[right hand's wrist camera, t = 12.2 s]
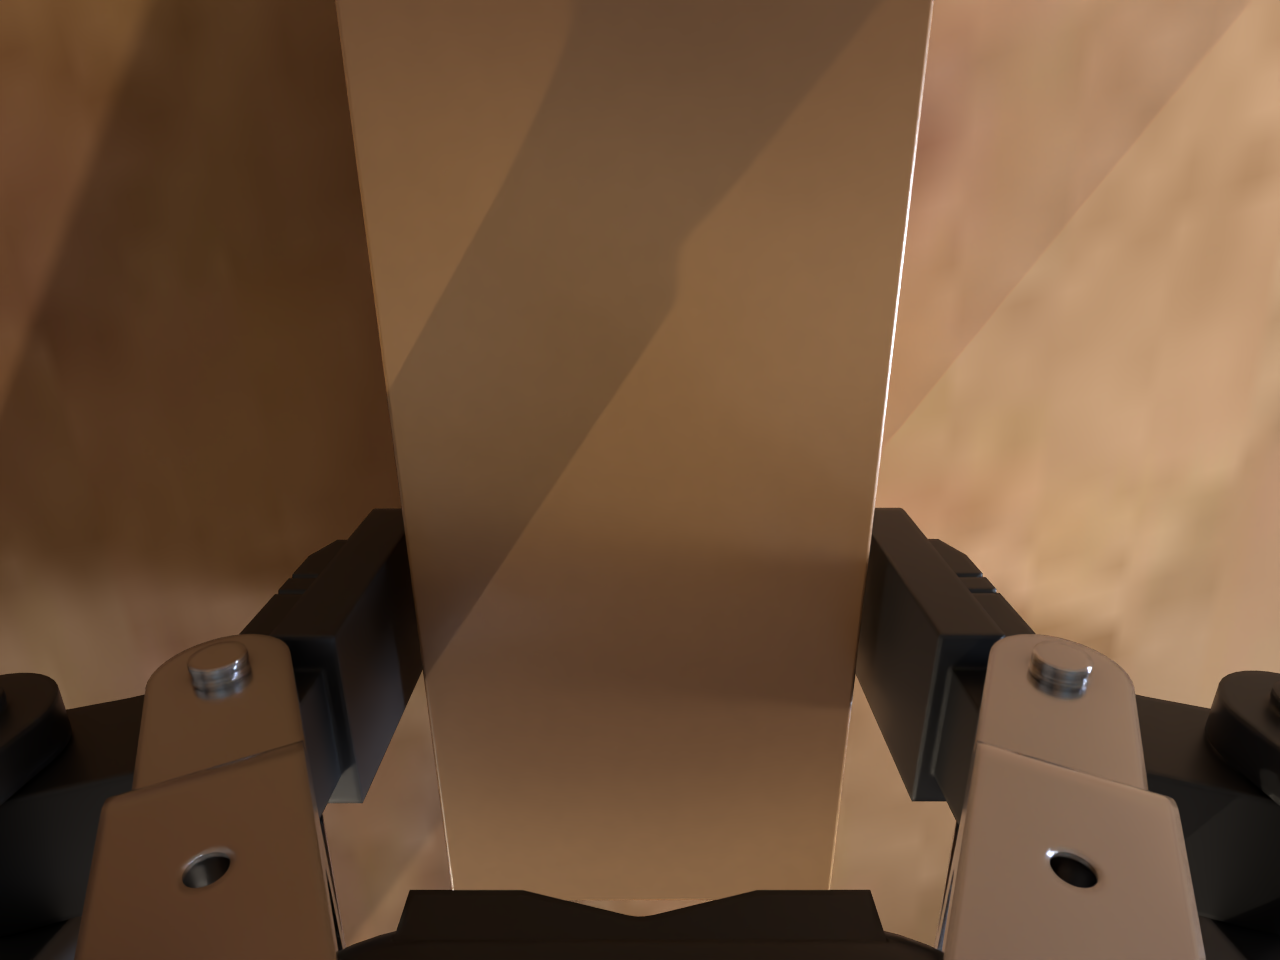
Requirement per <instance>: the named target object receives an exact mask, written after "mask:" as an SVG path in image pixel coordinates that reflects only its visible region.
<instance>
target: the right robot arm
mask: <svg viewBox="0 0 1280 960" xmlns="http://www.w3.org/2000/svg"><path fill="white" fill-rule="evenodd" d="M422 670H423V667H422V659H421V651H420V644H419V636H418V629H417V621H416V613H415V606H414V598H413V591H412V583H411V575H410V568H409V560H408V553H407V545H406V537H405V530H404V522H403V515H402V509H373V510H372V511H371V512H370V513H369V515H368V516H367V517H366V518H365V520H364V521H363V522H362V523H361V524H360V526H359V527H358V528H357V529H356V530H355V532H354V533H353V534H352V535H351V536H350V538H349V539H348V540H336V541H335V542H333V543H331V544H329V545H328V546H326V547H324V548H322V549H321V550H319V551H317V552H315V553H313V554H312V555H310V556H309V557H308V558H307V559H306V560H305V561H304V562H303V563H302V565H301V566H300V567H299V568H298V569H297V570H296V571H295V572H294V573H293V577H292V578H289V579H288V580H287V581H286V582H285V584H284V585H283V586H282V587H281V588H280V589H279V593H278V594H275V595H274V596H273V597H272V598H271V599H270V600H269V601H268V603H267V604H266V605H265V606H264V607H263V608H262V609H261V610H260V612H259V613H258V614H257V615H256V616H255V617H254V618H253V619H252V621H251V622H250V623H249V624H248V625H247V626H246V627H245V628H244V629H243V631H242V632H241V633H240V634H239V635H232V636H227V637H222V638H218V639H214V640H210V641H207V642H204V643H201V644H198V645H196V646H193V647H191V648H189V649H186V650H184V651H183V652H181V653H179V654H177V655H175V656H174V657H172V658H171V659H169V660H167V661H166V662H165V663H164V664H162V665H161V666H160V667H159V668H158V669H157V670H156V671H155V672H154V673H153V674H152V675H151V677H150V679H149V680H148V682H147V685H146V690H145V695H141V696H136V697H132V698H127V699H122V700H116V701H111V702H106V703H100V704H95V705H90V706H84V707H79V708H74V709H68V710H66V709H65V706H64V703H63V700H62V697H61V694H60V691H59V688H58V685H57V684H56V682H55V681H54V680H53V679H51V678H50V677H48V676H45V675H42V674H35V673H13V674H5V675H0V960H1280V674H1279V673H1273V672H1265V671H1241V672H1235V673H1232V674H1229V675H1227V676H1225V677H1224V678H1222V680H1221V681H1220V683H1219V686H1218V689H1217V692H1216V695H1215V698H1214V701H1213V704H1212V707H1211V709H1209V708H1203V707H1198V706H1193V705H1187V704H1182V703H1177V702H1171V701H1166V700H1160V699H1155V698H1150V697H1144V696H1140V695H1135V690H1134V685H1133V682H1132V680H1131V679H1130V677H1129V675H1128V674H1127V673H1126V672H1125V671H1124V670H1123V669H1122V668H1121V667H1120V666H1119V665H1118V664H1116V663H1115V662H1114V661H1113V660H1111V659H1109V658H1108V657H1106V656H1105V655H1103V654H1101V653H1099V652H1097V651H1096V650H1094V649H1091V648H1089V647H1087V646H1084V645H1082V644H1079V643H1076V642H1073V641H1070V640H1066V639H1062V638H1058V637H1053V636H1048V635H1039V634H1035V633H1034V631H1033V630H1032V629H1031V628H1030V627H1029V626H1028V625H1027V623H1026V622H1025V621H1024V620H1023V619H1022V618H1021V617H1020V616H1019V614H1018V613H1017V612H1016V611H1015V610H1014V609H1013V608H1012V606H1011V605H1010V604H1009V603H1008V602H1007V601H1006V600H1005V599H1004V597H1003V596H1002V595H1001V594H1000V593H996V588H995V587H994V586H993V585H992V584H991V583H990V582H989V580H988V579H987V578H986V577H983V576H982V572H981V571H980V570H979V569H978V568H977V567H976V566H975V565H974V563H973V562H972V561H971V560H970V559H969V558H968V557H967V555H965V554H963V553H962V552H960V551H958V550H956V549H955V548H953V547H951V546H949V545H948V544H946V543H944V542H942V541H941V540H939V539H927V538H926V537H925V535H924V534H923V533H922V532H921V530H920V529H919V528H918V527H917V525H916V524H915V523H914V522H913V521H912V519H911V518H910V517H909V516H908V514H907V513H906V512H905V511H904V510H903V509H902V508H875V510H874V518H873V527H872V535H871V544H870V552H869V561H868V570H867V578H866V587H865V595H864V604H863V612H862V621H861V629H860V638H859V647H858V655H857V664H856V672H855V673H856V676H857V678H858V680H859V682H860V685H861V687H862V689H863V692H864V694H865V696H866V698H867V701H868V703H869V705H870V707H871V710H872V712H873V714H874V716H875V719H876V721H877V723H878V726H879V728H880V730H881V732H882V735H883V737H884V739H885V741H886V744H887V746H888V748H889V750H890V753H891V755H892V757H893V759H894V762H895V764H896V766H897V769H898V771H899V773H900V775H901V778H902V780H903V782H904V784H905V787H906V789H907V791H908V793H909V796H910V798H911V800H912V801H947V803H948V805H949V807H950V809H951V811H952V813H953V815H954V817H955V819H956V824H955V829H954V834H953V839H952V845H951V851H950V857H949V863H948V869H947V874H946V880H945V886H944V892H943V898H942V903H941V909H940V915H939V921H938V927H937V933H936V938H935V944H934V948H933V947H931V946H929V945H926V944H924V943H921V942H918V941H915V940H912V939H909V938H906V937H904V936H901V935H897V934H893V933H890V932H886V931H883V928H882V925H881V922H880V919H879V915H878V912H877V909H876V906H875V903H874V900H873V897H872V894H871V891H870V890H755V891H751V892H747V893H743V894H739V895H734V896H730V897H726V898H722V899H718V900H714V901H710V902H706V903H701V904H697V905H693V906H689V907H685V908H681V909H677V910H673V911H668V912H664V913H660V914H656V915H651V916H645V917H635V916H629V915H624V914H620V913H616V912H612V911H607V910H603V909H599V908H595V907H591V906H587V905H583V904H579V903H574V902H570V901H566V900H562V899H558V898H554V897H550V896H546V895H541V894H537V893H533V892H529V891H525V890H410V891H409V894H408V897H407V900H406V903H405V906H404V909H403V912H402V915H401V919H400V922H399V925H398V928H397V931H394V932H390V933H387V934H383V935H379V936H376V937H374V938H371V939H368V940H365V941H362V942H359V943H356V944H354V945H351V946H349V947H347V948H346V944H345V938H344V933H343V927H342V921H341V915H340V909H339V903H338V898H337V892H336V886H335V880H334V874H333V869H332V863H331V857H330V851H329V845H328V839H327V834H326V829H325V824H324V819H323V814H322V813H323V811H324V809H325V807H326V805H327V803H363V801H364V799H365V797H366V794H367V792H368V790H369V788H370V785H371V783H372V781H373V779H374V776H375V774H376V772H377V770H378V768H379V765H380V763H381V761H382V759H383V756H384V754H385V752H386V750H387V748H388V745H389V743H390V741H391V739H392V736H393V734H394V732H395V730H396V727H397V725H398V723H399V721H400V719H401V716H402V714H403V712H404V710H405V707H406V705H407V703H408V701H409V699H410V696H411V694H412V692H413V690H414V687H415V685H416V683H417V681H418V679H419V676H420V674H421V672H422Z"/></svg>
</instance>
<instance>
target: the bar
mask: <svg viewBox="0 0 1280 960" xmlns="http://www.w3.org/2000/svg"><path fill="white" fill-rule="evenodd" d="M335 5H336V13H337V20H338V28H339V36H340V43H341V51H342V58H343V66H344V74H345V81H346V89H347V96H348V104H349V112H350V119H351V127H352V134H353V142H354V150H355V157H356V165H357V172H358V180H359V188H360V195H361V203H362V210H363V218H364V226H365V233H366V241H367V248H368V256H369V264H370V271H371V279H372V286H373V294H374V302H375V309H376V317H377V325H378V332H379V340H380V347H381V355H382V363H383V370H384V378H385V385H386V393H387V401H388V408H389V416H390V423H391V431H392V439H393V446H394V454H395V461H396V469H397V477H398V484H399V492H400V499H401V507H402V515H403V522H404V530H405V537H406V545H407V553H408V560H409V568H410V575H411V583H412V591H413V598H414V606H415V613H416V621H417V629H418V636H419V644H420V651H421V659H422V667H423V674H424V682H425V689H426V697H427V705H428V712H429V720H430V728H431V735H432V743H433V750H434V758H435V766H436V773H437V781H438V788H439V796H440V804H441V811H442V819H443V826H444V834H445V842H446V849H447V857H448V864H449V872H450V880H451V887H452V890H525V891H529V892H533V893H537V894H541V895H546V896H550V897H554V898H558V899H562V900H718V899H722V898H726V897H730V896H734V895H739V894H743V893H747V892H751V891H755V890H830V886H831V877H832V869H833V860H834V852H835V843H836V835H837V826H838V818H839V809H840V800H841V792H842V783H843V775H844V766H845V758H846V749H847V741H848V732H849V723H850V715H851V706H852V698H853V689H854V681H855V672H856V664H857V655H858V647H859V638H860V629H861V621H862V612H863V604H864V595H865V587H866V578H867V570H868V561H869V552H870V544H871V535H872V527H873V518H874V510H875V501H876V493H877V484H878V476H879V467H880V458H881V450H882V441H883V433H884V424H885V416H886V407H887V399H888V390H889V381H890V373H891V364H892V356H893V347H894V339H895V330H896V322H897V313H898V304H899V296H900V287H901V279H902V270H903V262H904V253H905V245H906V236H907V228H908V219H909V210H910V202H911V193H912V185H913V176H914V168H915V159H916V151H917V142H918V133H919V125H920V116H921V108H922V99H923V91H924V82H925V74H926V65H927V56H928V48H929V39H930V31H931V22H932V14H933V5H934V0H335Z"/></svg>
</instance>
